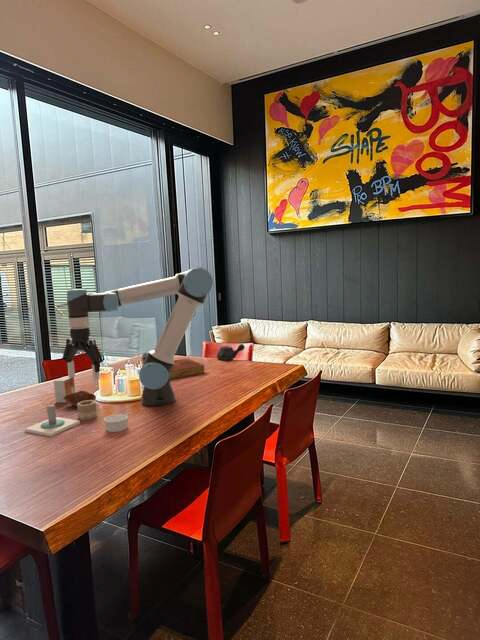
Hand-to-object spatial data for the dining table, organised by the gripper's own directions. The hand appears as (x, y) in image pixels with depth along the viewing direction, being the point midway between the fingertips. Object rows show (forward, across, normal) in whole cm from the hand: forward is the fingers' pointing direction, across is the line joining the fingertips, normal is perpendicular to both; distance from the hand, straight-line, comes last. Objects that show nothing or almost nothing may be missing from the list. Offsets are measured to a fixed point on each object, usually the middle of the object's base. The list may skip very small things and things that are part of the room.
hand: (83, 378), depth 176 cm
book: (+17, +8, -73) cm, 75 cm away
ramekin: (+17, -21, +6) cm, 28 cm away
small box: (+17, +28, -14) cm, 35 cm away
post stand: (+16, +4, +14) cm, 22 cm away
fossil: (+17, +14, -10) cm, 24 cm away
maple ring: (+16, 0, 0) cm, 16 cm away
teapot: (+16, -8, -115) cm, 117 cm away
